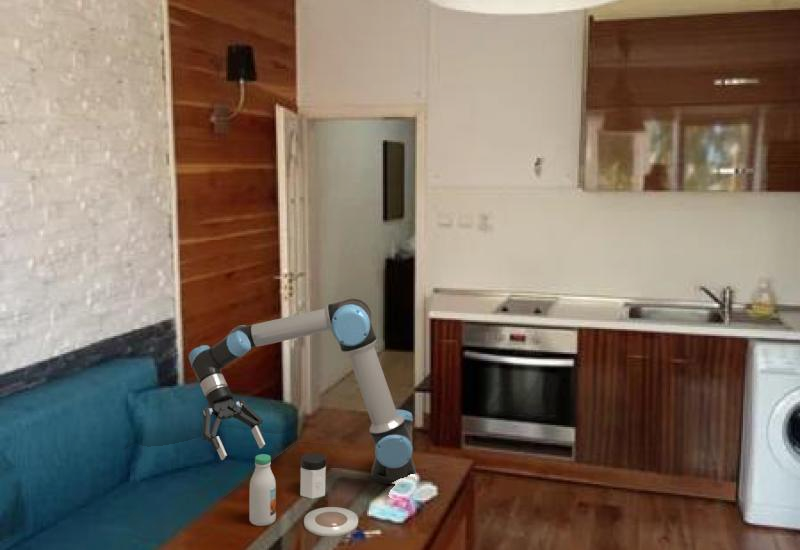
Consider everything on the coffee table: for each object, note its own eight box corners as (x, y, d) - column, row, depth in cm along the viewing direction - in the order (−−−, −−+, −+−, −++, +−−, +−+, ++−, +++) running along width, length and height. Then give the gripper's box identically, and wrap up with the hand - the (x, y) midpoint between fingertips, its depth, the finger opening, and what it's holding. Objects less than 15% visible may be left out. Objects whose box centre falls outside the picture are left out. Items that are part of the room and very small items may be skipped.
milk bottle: (263, 529, 222) (263, 464, 219) (243, 521, 226) (243, 457, 223) (281, 519, 229) (281, 455, 225) (261, 512, 233) (261, 449, 229)
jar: (306, 501, 241) (306, 464, 239) (294, 491, 247) (295, 455, 246) (331, 494, 246) (332, 459, 244) (319, 485, 252) (320, 450, 250)
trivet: (354, 509, 236) (354, 505, 236) (361, 534, 221) (361, 530, 220) (302, 512, 233) (302, 508, 233) (305, 538, 218) (305, 533, 218)
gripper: (245, 390, 249) (272, 447, 241) (176, 406, 232) (202, 468, 224) (255, 378, 245) (282, 436, 237) (184, 393, 227) (211, 456, 219)
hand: (243, 452), depth 230 cm, fingers open, 13 cm apart
